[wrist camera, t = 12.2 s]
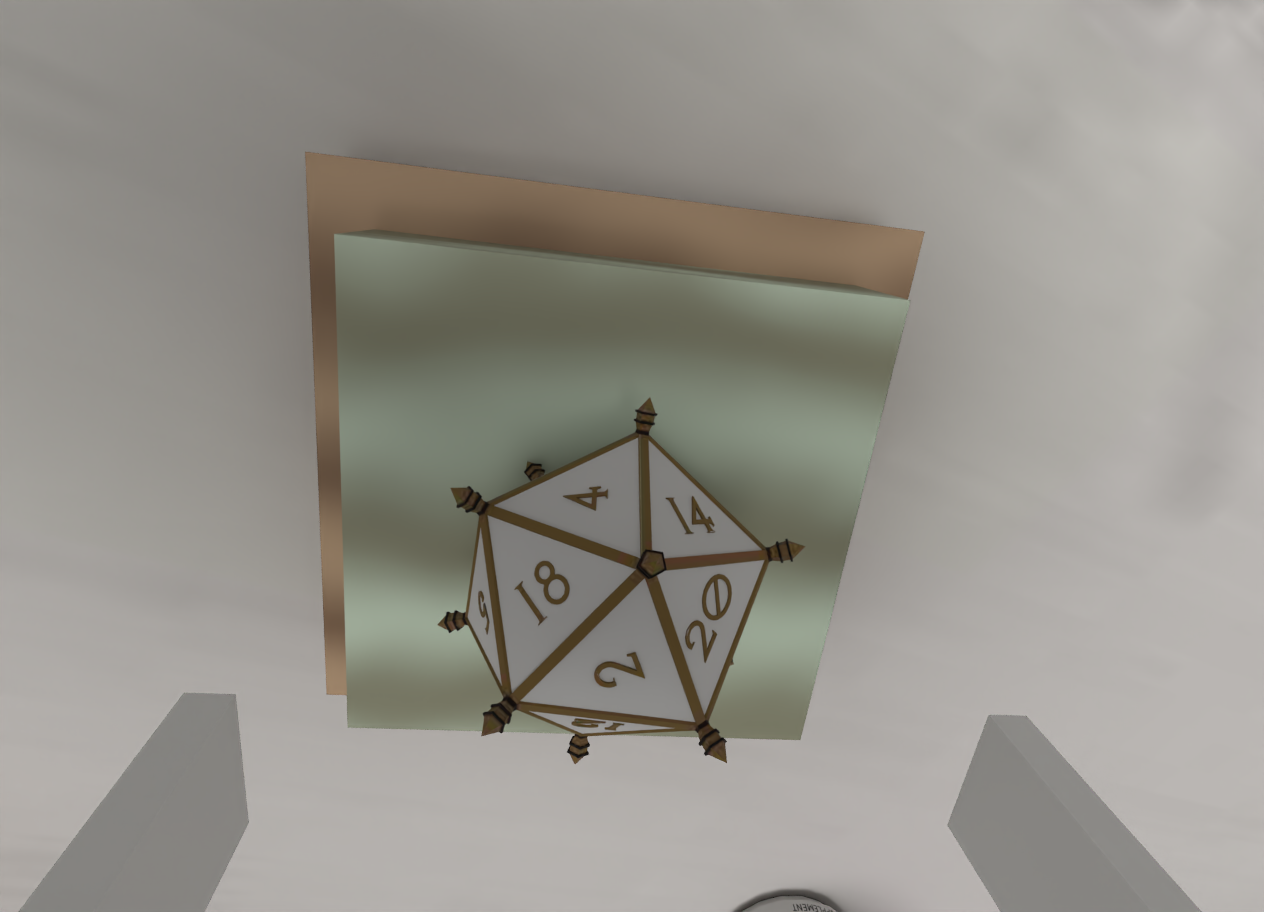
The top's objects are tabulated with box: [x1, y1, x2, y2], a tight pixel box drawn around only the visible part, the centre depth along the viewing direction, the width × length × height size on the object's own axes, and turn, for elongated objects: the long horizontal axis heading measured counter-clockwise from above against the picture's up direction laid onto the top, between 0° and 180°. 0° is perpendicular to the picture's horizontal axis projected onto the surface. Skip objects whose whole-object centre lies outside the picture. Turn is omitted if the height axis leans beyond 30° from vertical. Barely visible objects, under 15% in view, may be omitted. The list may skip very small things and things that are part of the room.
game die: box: [437, 397, 806, 764], centre depth 17 cm, size 9×8×10 cm
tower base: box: [305, 152, 924, 740], centre depth 25 cm, size 20×20×8 cm
